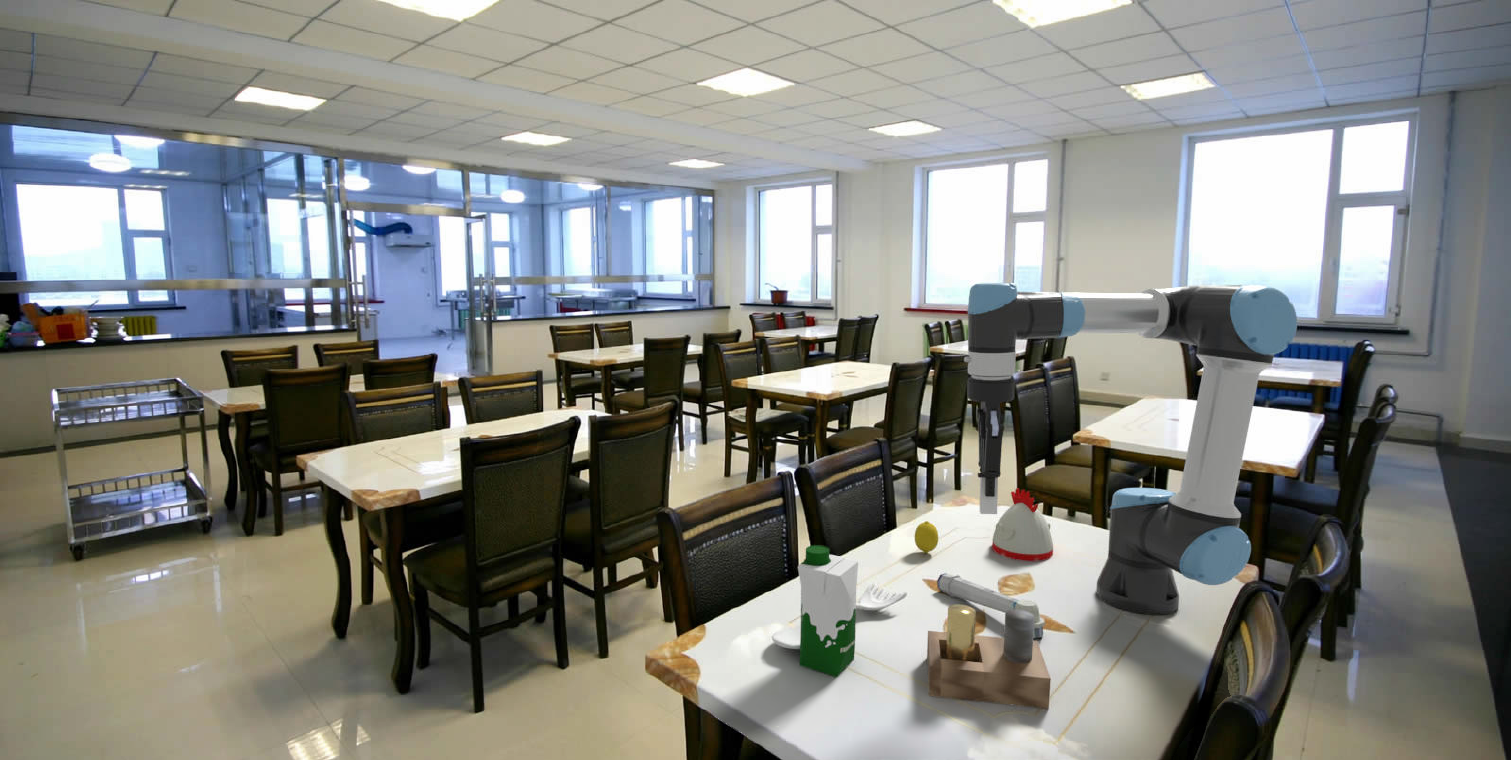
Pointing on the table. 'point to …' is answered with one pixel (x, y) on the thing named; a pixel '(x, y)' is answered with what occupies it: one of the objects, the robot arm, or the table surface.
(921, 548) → the lemon
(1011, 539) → the kitchen timer
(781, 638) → the white spork
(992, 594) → the grey bent pipe
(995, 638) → the jig
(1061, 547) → the table surface
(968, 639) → the gold cylinder
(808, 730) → the table surface
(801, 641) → the milk carton
